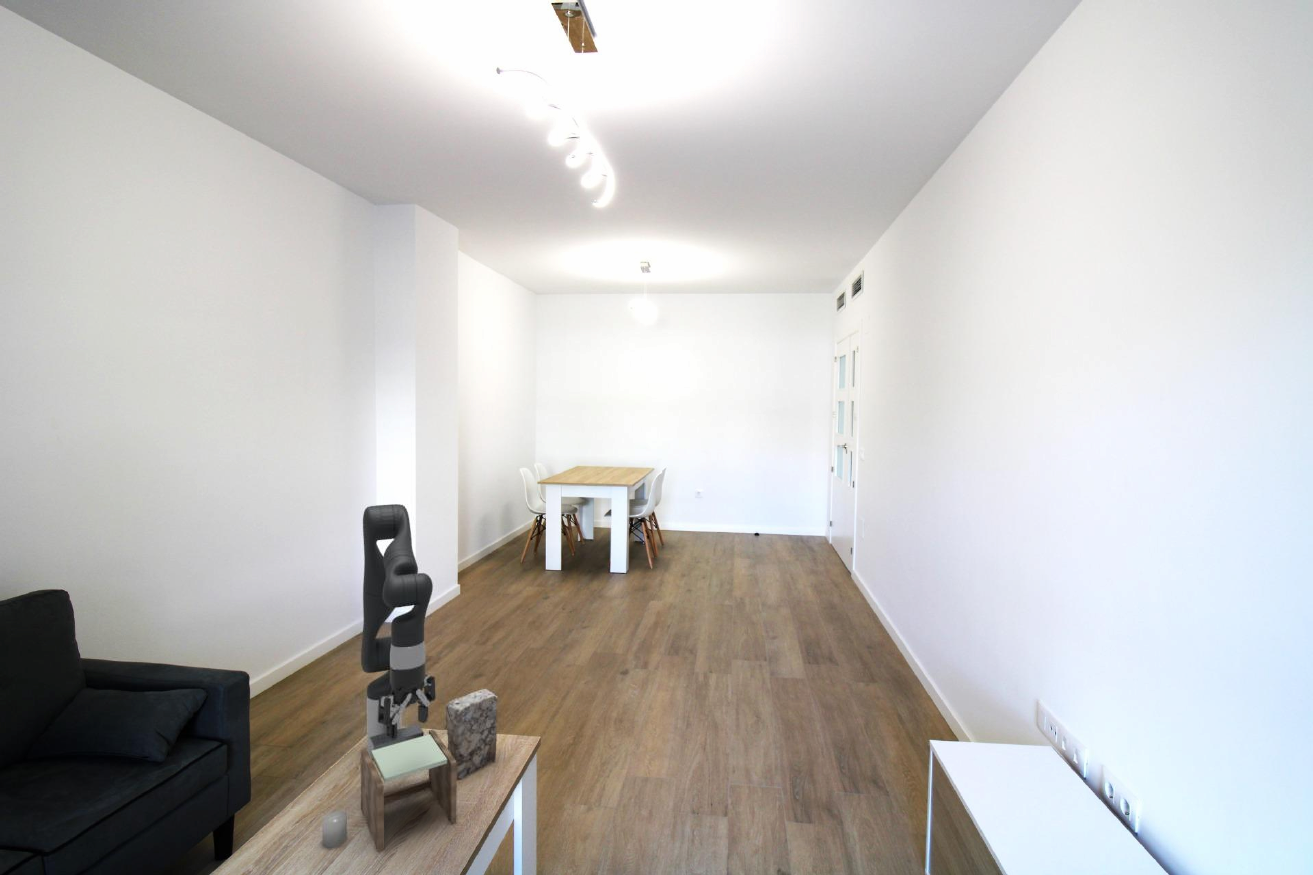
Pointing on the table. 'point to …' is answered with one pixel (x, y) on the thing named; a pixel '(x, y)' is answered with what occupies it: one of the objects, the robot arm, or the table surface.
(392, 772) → the trapdoor
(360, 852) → the table surface
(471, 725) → the stone block
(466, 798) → the table surface
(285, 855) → the table surface
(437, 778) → the stand
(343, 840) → the smooth gray cylinder
